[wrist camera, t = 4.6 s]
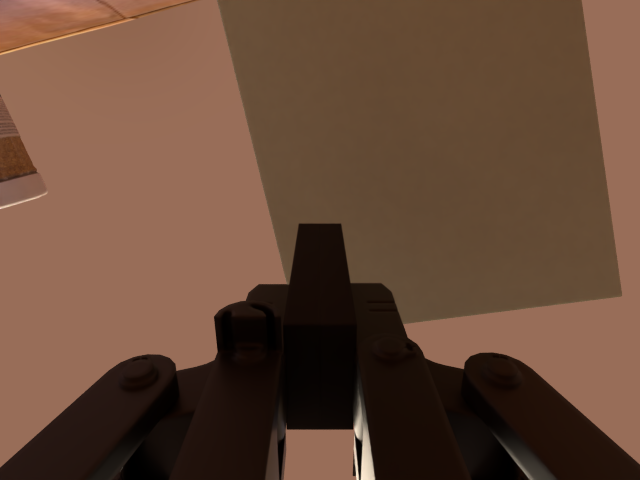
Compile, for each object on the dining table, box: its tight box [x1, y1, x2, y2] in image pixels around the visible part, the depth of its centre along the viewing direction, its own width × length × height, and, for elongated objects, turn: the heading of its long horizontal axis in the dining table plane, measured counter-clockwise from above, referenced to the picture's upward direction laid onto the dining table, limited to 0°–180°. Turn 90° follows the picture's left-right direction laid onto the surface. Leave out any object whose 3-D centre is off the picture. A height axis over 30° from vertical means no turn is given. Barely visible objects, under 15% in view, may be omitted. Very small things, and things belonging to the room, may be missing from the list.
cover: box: [217, 0, 622, 324], centre depth 17 cm, size 16×14×1 cm
